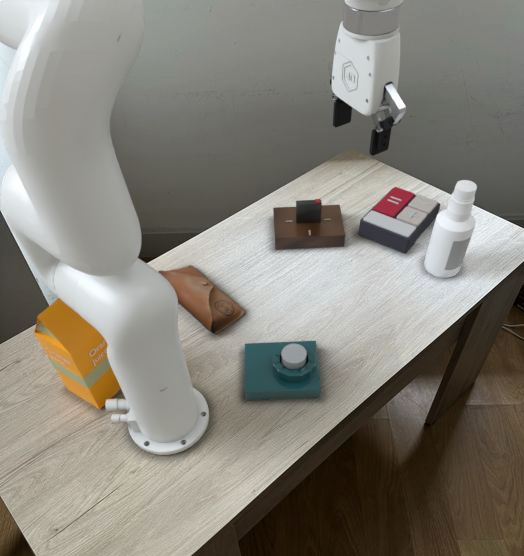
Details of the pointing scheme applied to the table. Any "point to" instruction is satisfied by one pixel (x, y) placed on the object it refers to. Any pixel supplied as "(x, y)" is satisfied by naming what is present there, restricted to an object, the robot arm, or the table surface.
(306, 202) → the dial
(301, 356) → the grey cylindrical knob
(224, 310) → the sunglasses case
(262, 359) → the grey cylindrical knob base
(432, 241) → the spray bottle
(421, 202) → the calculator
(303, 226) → the selector
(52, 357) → the orange juice
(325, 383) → the table surface
